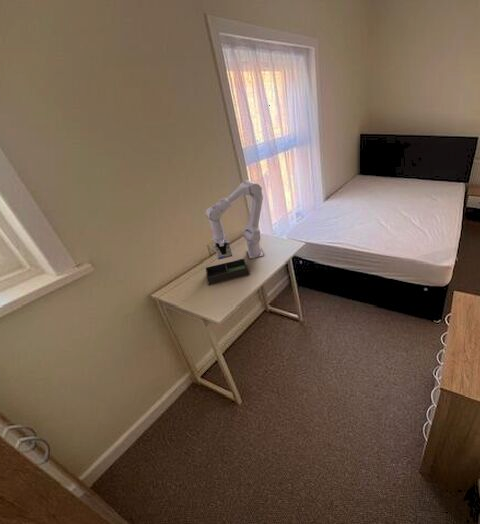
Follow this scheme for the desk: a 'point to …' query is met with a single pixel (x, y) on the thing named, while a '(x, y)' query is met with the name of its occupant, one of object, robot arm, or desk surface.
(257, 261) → the desk surface
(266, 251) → the desk surface
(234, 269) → the organizer
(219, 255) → the medicine box
